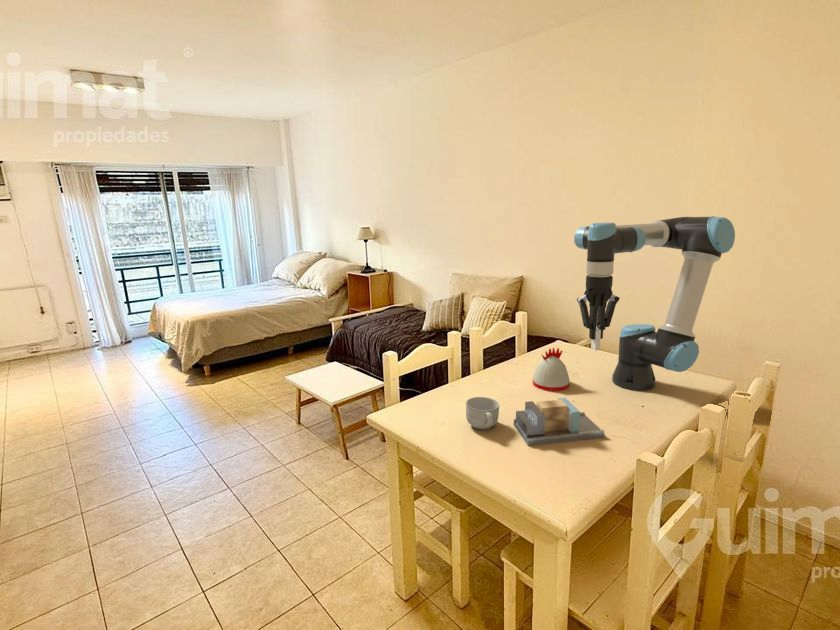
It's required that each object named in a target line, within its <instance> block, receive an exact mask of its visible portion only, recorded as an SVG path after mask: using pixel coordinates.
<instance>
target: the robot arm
mask: <svg viewBox="0 0 840 630" xmlns="http://www.w3.org/2000/svg"><path fill="white" fill-rule="evenodd" d="M735 239H736V231H735V227H734V225H733V223H732V221H731V220H730V219H728V218H726V217H721V216H679V217H673V218H666V219H657V220H654V221H653V220H652V221H651V222H650V223H639V224H638V223H637V224H635V223H634V224H621V225H617V224H616V223H615V222H593V223H590V224H589V225H587V226H581V227H579V228H578V229H576V231H575V233H574V239H573V241H574V244H575V246H576V247H577V248H578V249H583V250H587V251H586V252H587V253H586V257H587V258H586V274H587V275H586V276H585V291H584V295H583V296H581V297H577V299H576V302H577V303H578V305H579V309H580V315H581V319H582V323H583V324H582V325H583V327H584V328H587V329H589V333H588V334H589V335H588V338H589V340H591V341H590V348H591V349H592V350H594V351H600V349H601V340H603V338H604V331H605V330H606V328H609V327H610V326H611V323H612V319H613V315H614V313H615V309H616V306H617V304H618V302H619V300H620V298H621V297H619V296H617V295H615V294H613V290H612V287H613V281H614V280H613V279H614V277H613V274H614V266H615V265H614V264H615V262H614V261H615V255H616V254H622V253H624V254H625V253H633V252H637V251H639V250H642V249H643V248H644V246H651V247H653V248H668V249H675V250H681V255H682V256H683V258H684V260H683V263H682V266H681V269H680V273H679V277H678V280H677V283H676V285H675V289H674V293H673V296H672V298H671V302H670V305H669V308H668V312H667V315H666V318H665V322H664V324H663V325H661V326H659V327H658V329H657V331H656V326H654V325H652V324H645V323H637V324H628V325H627V324H626V325H624V326H622V327H621V329H620V334H619V340H618V341H619V342H618V343H619V344H618V361H617V364H616V365H615V369H614V371H613V373H612V375H611V376H612V377H611V381H612V383H613V384H614V385H615V386H617V387H621V388H624V389H627V390H633V391H648V390H652V389H654V388H655V387H656V376H655V373H654V370H653V365H654V366H656V367H660V368H664V369H665V370H668V371H673V372H675V373H682V372H685V371H688V369H690V368H692V366H693V365H694V364H695V363H696V361H697V359H698V357H699V353H700V349H699V348H700V347H699V345H698V343H697V342H695V339H696V335H695V333H694V332H693V328H694V326H695V323H696V318H697V316H698V313H699V310H700V307H701V303H702V300H703V296H704V294H705V291H706V287H707V284H708V281H709V278H710V274H711V272H712V268H713V265H714V263H716V262H718V261H719V260H721V256H722V254H725V253H729V251H730V250H732V248H733V246H734V243H735ZM587 302H588V304H587ZM588 306H589V309H588Z"/></svg>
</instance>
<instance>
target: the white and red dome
mask: <svg viewBox="0 0 840 630" xmlns="http://www.w3.org/2000/svg"><path fill="white" fill-rule="evenodd" d="M544 353H545V356H544V355H543V354H541V357H542V359H541V360H540V361H539V362H538V364H537V366H536V367H535V369H534V372H533V376H532V385H533V386H534V387H535V388H537V389H539V390H542V391H546V392H562V391H565V390H567V389H568V388H569V387H570V376H569V373H568V372H569V371H568V370H567V367H566V365H565V363H564V362H563V360H561V359H560V358H561V355H562V354H563V350H560V348H559V347H557V349H555V347H553V348H552V349H551V348H550V347H549V349H548V352H547V350H546V351H545V352H544Z"/></svg>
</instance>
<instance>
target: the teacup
mask: <svg viewBox="0 0 840 630" xmlns="http://www.w3.org/2000/svg"><path fill="white" fill-rule="evenodd" d="M499 411H500V403H499V401H497V399H494V398H491V397H486V396H474V397H471V398H468V399H467V400H466V401H465V417H466V421H467V423H468V424H470V425H471V426H472V427H473V428H474V429H478V430H488V429H489V430H490V429H491V428H492V427H494V426H496V425H497V423H498V420H499V414H500V413H499Z"/></svg>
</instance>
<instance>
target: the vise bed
mask: <svg viewBox="0 0 840 630" xmlns="http://www.w3.org/2000/svg"><path fill="white" fill-rule="evenodd" d="M513 427H515V429H516V430H517V432H518V433H519V435H520V437H521V438H522V439H523V441H524V443H526V445H527V446H529V447H530V446H539V445H548V444H555V443H558V444H559V443H566V442H567V443H568V442H574V441H583V440H584V441H586V440H593V439H602V438H605V430H604V429H601V428H600V427H599V426H598V425H597V424H595V423H594V422H593V421H592V420H591V418H589V417H588V416H587V415H586V412H584V411H580V426H579V432H577V433H570V432H569V430H568V429H566V430H557V431H548V432H545V436H540V437H531V438H526V436H525V435H524V434H523V432H522V431H521V429H520V428H519V426H518V425H517V424H516V418H513Z"/></svg>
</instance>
